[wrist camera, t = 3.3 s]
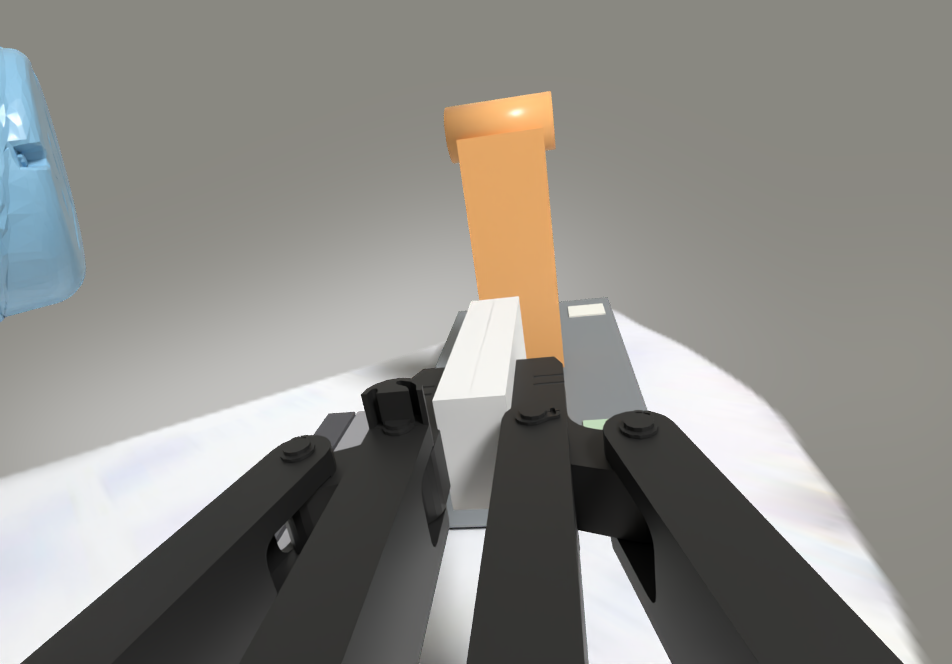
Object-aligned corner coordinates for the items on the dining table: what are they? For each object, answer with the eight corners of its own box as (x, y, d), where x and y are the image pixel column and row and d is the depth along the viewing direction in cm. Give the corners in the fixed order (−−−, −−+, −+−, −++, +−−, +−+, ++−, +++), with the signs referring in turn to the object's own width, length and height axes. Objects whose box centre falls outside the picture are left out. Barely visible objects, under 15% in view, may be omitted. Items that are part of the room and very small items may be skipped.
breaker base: (404, 529, 24) (390, 468, 23) (464, 347, 42) (458, 309, 41) (665, 520, 22) (664, 454, 21) (609, 335, 41) (607, 295, 40)
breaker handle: (480, 373, 30) (440, 107, 25) (485, 351, 32) (450, 107, 28) (574, 366, 29) (551, 89, 24) (571, 344, 32) (550, 92, 27)
